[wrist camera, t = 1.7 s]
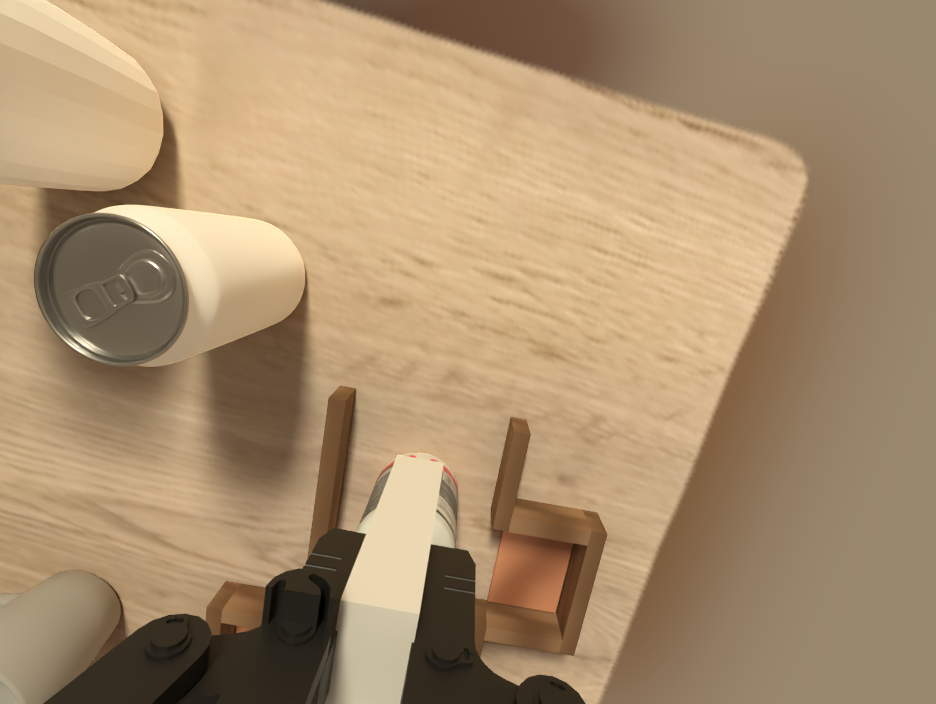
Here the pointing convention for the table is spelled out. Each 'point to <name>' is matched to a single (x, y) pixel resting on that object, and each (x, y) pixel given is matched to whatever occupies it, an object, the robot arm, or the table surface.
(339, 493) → the trap lane
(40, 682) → the cup
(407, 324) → the table surface
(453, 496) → the pill bottle
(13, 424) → the table surface
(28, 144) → the cup
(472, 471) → the table surface
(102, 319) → the can
